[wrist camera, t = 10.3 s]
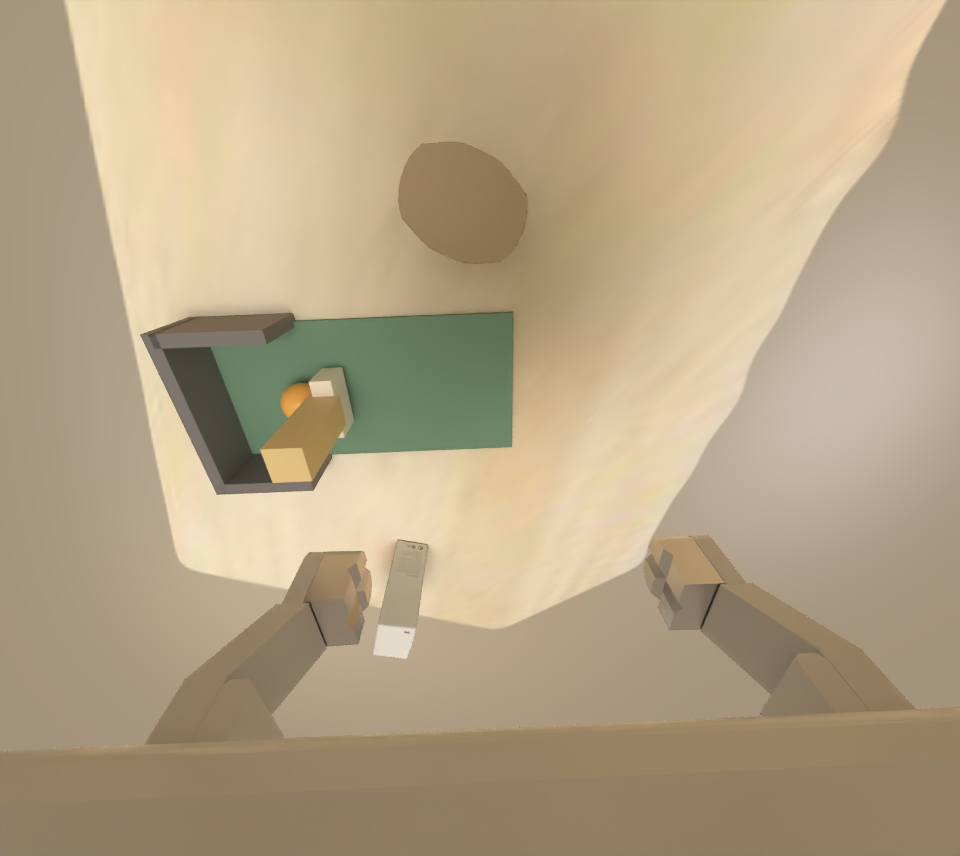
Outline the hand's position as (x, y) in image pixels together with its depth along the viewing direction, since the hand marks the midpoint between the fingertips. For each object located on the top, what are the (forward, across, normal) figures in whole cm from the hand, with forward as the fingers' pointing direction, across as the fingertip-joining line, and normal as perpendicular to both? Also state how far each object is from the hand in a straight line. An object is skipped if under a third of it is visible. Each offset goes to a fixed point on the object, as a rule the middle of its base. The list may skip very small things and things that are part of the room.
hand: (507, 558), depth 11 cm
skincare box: (+29, +11, +32) cm, 45 cm away
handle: (+29, +1, -9) cm, 31 cm away
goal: (+29, +22, +7) cm, 37 cm away
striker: (+29, +15, +7) cm, 33 cm away
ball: (+27, +18, +7) cm, 33 cm away
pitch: (+29, +12, +7) cm, 32 cm away
